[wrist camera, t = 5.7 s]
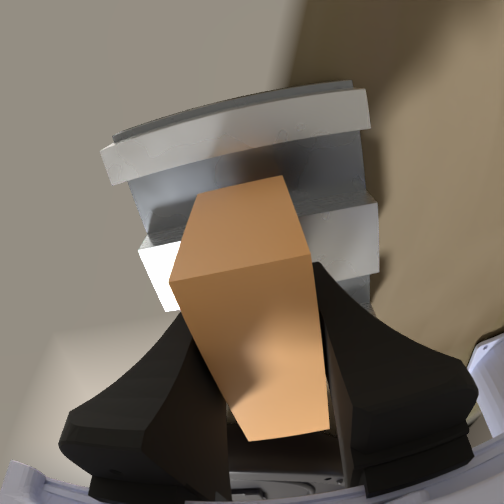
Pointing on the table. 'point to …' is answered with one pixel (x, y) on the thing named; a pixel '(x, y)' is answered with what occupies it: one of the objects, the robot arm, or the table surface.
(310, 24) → the table surface
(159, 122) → the slotted rail
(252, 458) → the grey bolted disc
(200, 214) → the orange notched block
